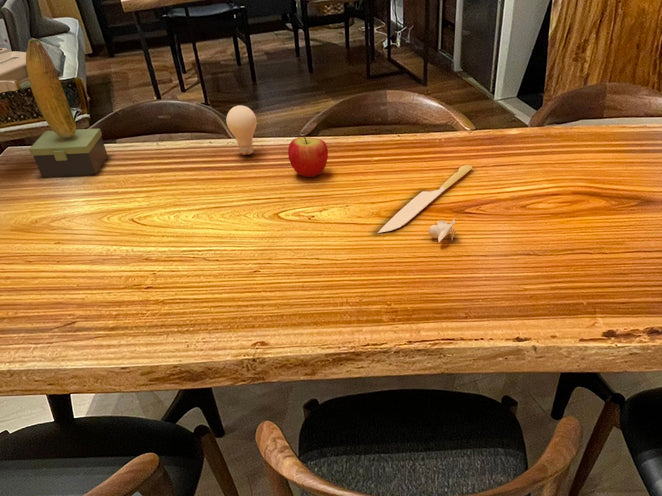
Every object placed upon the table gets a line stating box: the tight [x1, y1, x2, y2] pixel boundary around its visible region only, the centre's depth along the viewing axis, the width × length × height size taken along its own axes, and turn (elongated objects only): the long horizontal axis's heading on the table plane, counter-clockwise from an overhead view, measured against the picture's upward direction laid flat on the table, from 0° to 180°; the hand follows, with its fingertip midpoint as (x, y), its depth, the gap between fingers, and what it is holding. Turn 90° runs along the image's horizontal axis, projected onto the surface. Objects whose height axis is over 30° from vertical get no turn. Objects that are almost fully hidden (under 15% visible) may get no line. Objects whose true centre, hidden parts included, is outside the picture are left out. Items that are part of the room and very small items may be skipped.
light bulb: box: [225, 104, 258, 156], centre depth 140 cm, size 7×7×11 cm
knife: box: [377, 164, 473, 234], centre depth 125 cm, size 1×34×5 cm
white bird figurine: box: [428, 217, 457, 243], centre depth 112 cm, size 8×5×5 cm, turn 177°
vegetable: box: [25, 37, 77, 138], centre depth 131 cm, size 6×6×20 cm
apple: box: [287, 129, 329, 178], centre depth 132 cm, size 8×8×10 cm
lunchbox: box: [28, 128, 109, 178], centre depth 140 cm, size 12×11×6 cm
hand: (33, 78), depth 129 cm, fingers open, 8 cm apart
